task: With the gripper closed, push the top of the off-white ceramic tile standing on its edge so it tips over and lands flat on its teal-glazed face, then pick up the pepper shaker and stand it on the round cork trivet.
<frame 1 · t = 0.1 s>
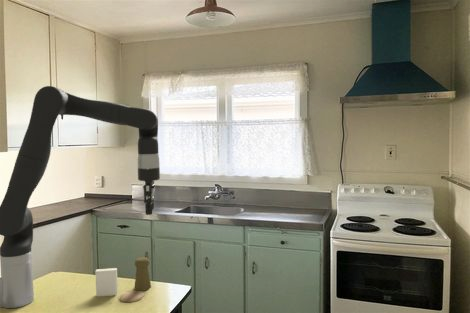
hand: (149, 212, 132), 29 cm above the table, tool pointing down, fingers open, 8 cm apart
trivet: (131, 297, 129), on the table
tile: (107, 294, 132), on the table
pepper shaker: (142, 287, 138), on the table
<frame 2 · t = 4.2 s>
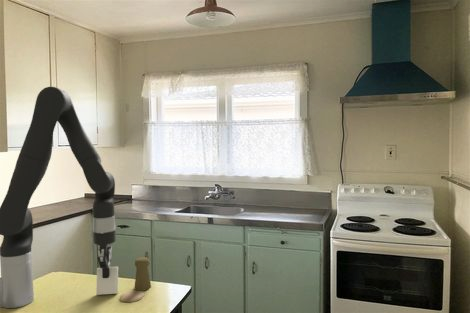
hand: (106, 277, 131), 6 cm above the table, tool pointing down, fingers closed
tile: (107, 293, 132), on the table, tilted 16°
everything else where it was.
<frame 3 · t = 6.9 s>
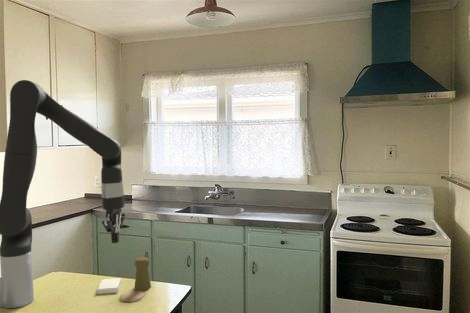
hand: (115, 242, 133), 18 cm above the table, tool pointing down, fingers closed
tile: (107, 291, 133), point 1 cm above the table, tilted 90°
everything else where it was.
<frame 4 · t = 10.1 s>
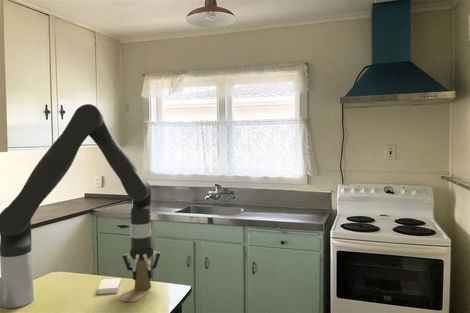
hand: (142, 279, 138), 3 cm above the table, tool pointing down, fingers closed on pepper shaker, 4 cm apart
pepper shaker: (142, 287, 138), on the table, touching gripper
everything else where it was.
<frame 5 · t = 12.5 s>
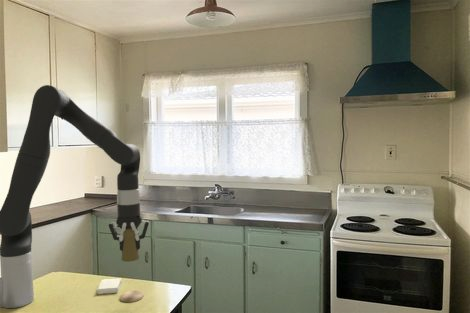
hand: (130, 250, 128), 16 cm above the table, tool pointing down, fingers closed on pepper shaker, 4 cm apart
pepper shaker: (130, 259, 129), point 13 cm above the table, touching gripper
everything else where it was.
when the fingers open (4 cm above the table, at t = 15.0 s): pepper shaker stays where it is, resting on trivet.
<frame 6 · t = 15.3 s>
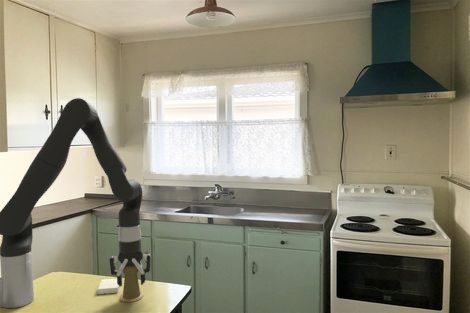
hand: (131, 284, 129), 4 cm above the table, tool pointing down, fingers open, 6 cm apart
pepper shaker: (131, 295, 129), resting on trivet
everything else where it was.
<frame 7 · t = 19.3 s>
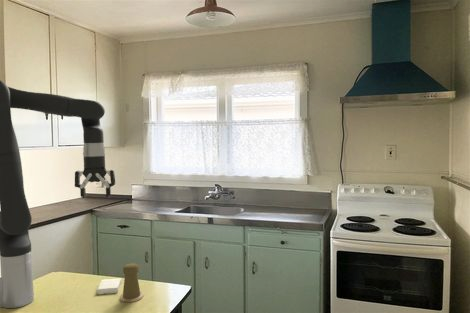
hand: (95, 197, 140), 33 cm above the table, tool pointing down, fingers open, 8 cm apart
nothing on the table moved.
at the end: tile tilted 90°; pepper shaker 0.1 cm from the trivet (horizontally); pepper shaker tilted 0° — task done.
